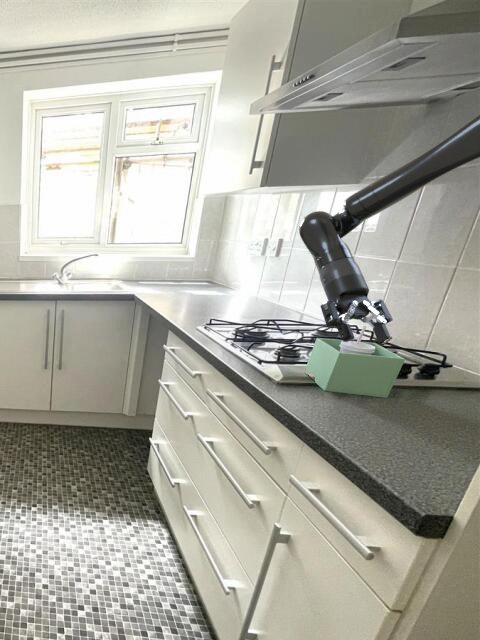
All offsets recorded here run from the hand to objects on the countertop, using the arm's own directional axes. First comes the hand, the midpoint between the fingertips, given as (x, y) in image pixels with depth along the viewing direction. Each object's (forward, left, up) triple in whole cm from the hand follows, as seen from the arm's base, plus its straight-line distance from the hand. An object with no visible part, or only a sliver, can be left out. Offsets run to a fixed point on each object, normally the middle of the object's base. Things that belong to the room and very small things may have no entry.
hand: (366, 340), depth 97 cm
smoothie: (+1, -1, -11) cm, 12 cm away
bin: (0, -1, -12) cm, 12 cm away
